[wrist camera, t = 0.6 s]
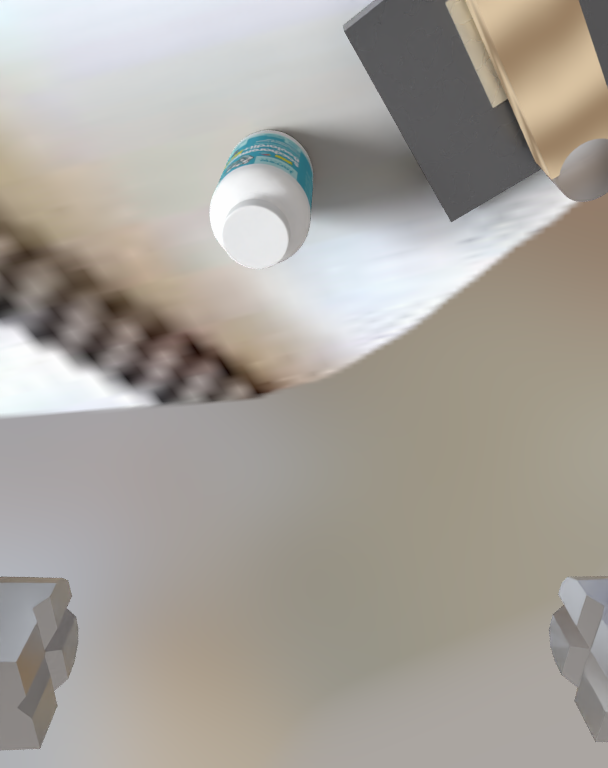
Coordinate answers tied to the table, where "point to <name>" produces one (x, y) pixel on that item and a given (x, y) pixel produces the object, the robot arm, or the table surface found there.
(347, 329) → the table surface
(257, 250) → the pill bottle
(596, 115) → the tan bar
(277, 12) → the table surface
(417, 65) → the panel
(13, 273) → the table surface
